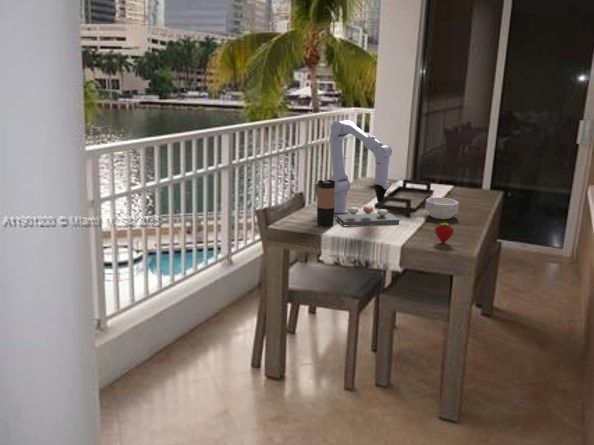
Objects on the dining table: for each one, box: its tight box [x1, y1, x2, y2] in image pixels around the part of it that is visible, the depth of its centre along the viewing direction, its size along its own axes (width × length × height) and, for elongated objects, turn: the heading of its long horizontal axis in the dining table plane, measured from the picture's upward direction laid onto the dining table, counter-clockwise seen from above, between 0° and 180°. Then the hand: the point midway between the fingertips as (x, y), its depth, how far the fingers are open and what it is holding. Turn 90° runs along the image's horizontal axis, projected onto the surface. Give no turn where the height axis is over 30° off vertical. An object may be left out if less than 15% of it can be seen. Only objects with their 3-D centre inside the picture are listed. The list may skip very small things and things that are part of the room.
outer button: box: [377, 208, 388, 217], centre depth 268 cm, size 4×4×3 cm
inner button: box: [348, 206, 359, 215], centre depth 265 cm, size 4×4×3 cm
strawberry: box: [434, 220, 454, 244], centre depth 237 cm, size 6×8×10 cm
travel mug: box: [316, 179, 335, 228], centre depth 258 cm, size 8×8×20 cm
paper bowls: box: [424, 196, 460, 220], centre depth 278 cm, size 15×15×8 cm
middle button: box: [362, 205, 374, 214], centre depth 266 cm, size 4×4×3 cm
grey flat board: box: [336, 212, 400, 226], centre depth 267 cm, size 26×12×2 cm, turn 103°
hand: (379, 201), depth 266 cm, fingers closed
